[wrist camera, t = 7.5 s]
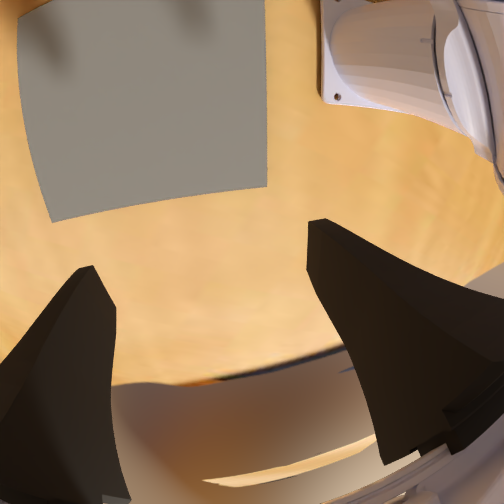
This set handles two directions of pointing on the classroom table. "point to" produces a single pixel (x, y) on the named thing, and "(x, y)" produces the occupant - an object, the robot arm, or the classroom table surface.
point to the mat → (143, 100)
